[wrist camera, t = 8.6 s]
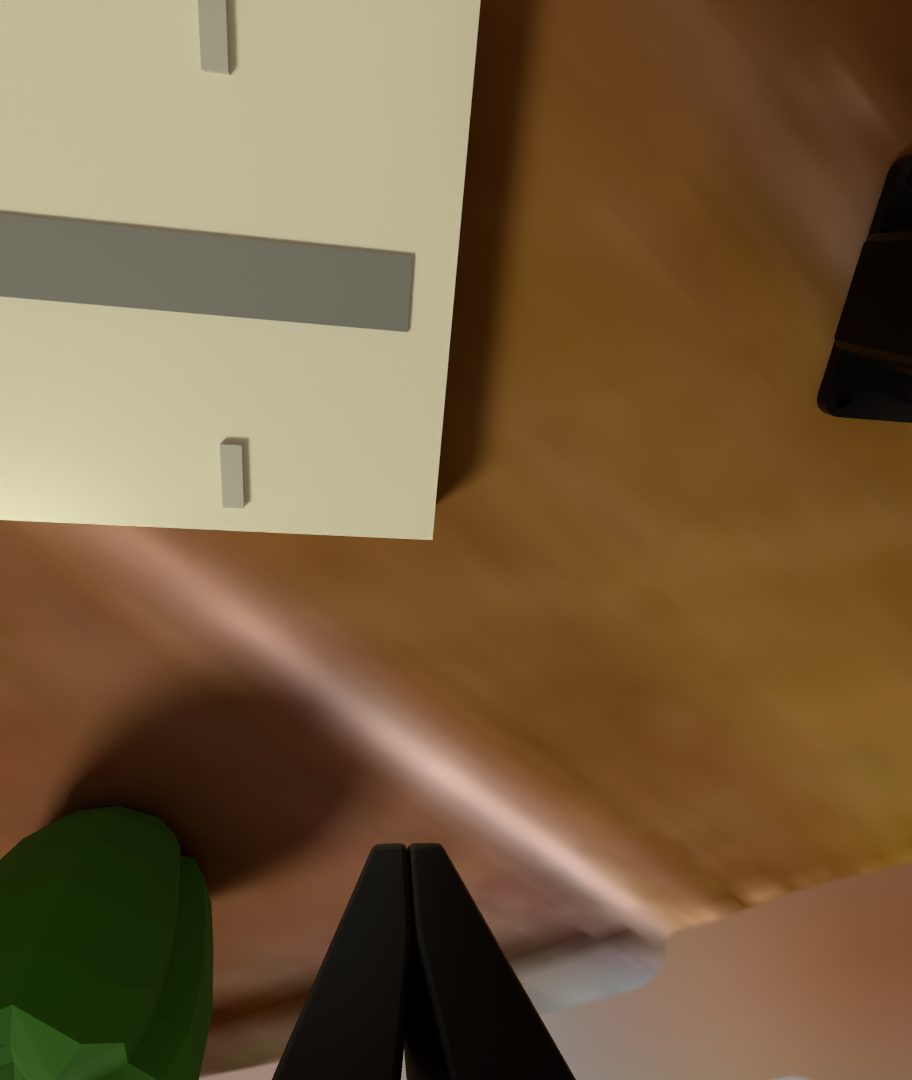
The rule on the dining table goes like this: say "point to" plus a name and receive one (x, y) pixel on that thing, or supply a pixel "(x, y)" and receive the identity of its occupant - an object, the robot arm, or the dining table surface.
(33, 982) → the bell pepper
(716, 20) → the dining table surface
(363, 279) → the dimmer console
